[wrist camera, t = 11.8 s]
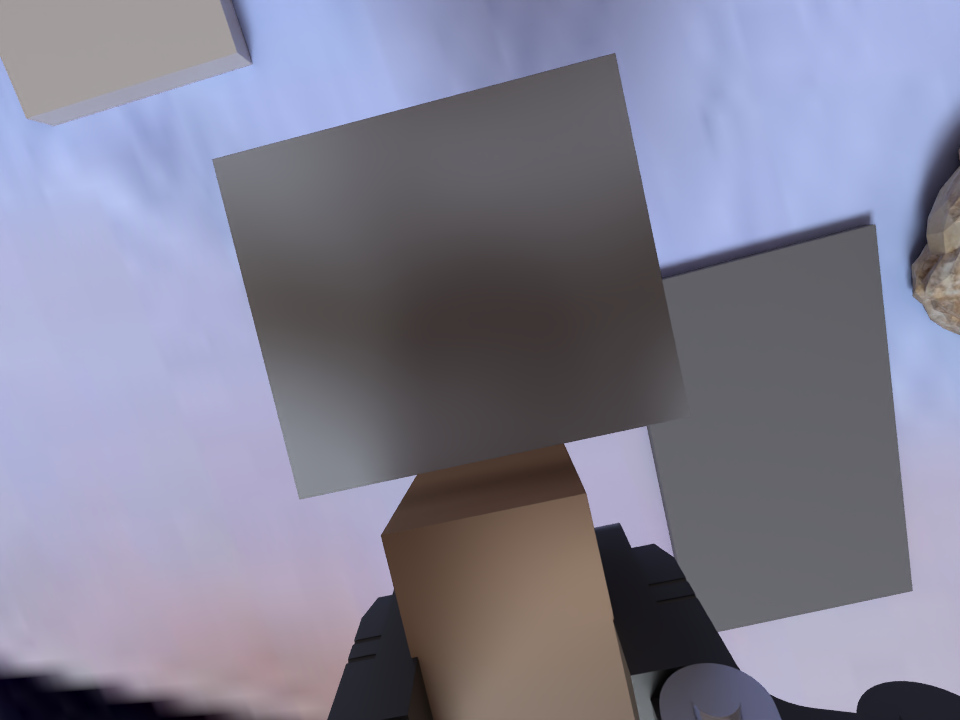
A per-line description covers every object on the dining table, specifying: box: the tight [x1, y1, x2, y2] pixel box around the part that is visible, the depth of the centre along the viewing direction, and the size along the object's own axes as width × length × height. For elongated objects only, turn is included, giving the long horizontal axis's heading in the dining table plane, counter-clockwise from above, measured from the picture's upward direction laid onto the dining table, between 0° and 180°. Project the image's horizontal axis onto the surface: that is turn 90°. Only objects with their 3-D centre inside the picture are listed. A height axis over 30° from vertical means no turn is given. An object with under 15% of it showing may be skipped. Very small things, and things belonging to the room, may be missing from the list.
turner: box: [212, 53, 690, 720], centre depth 9 cm, size 17×8×4 cm, turn 13°
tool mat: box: [647, 225, 913, 632], centre depth 27 cm, size 20×12×1 cm, turn 15°
